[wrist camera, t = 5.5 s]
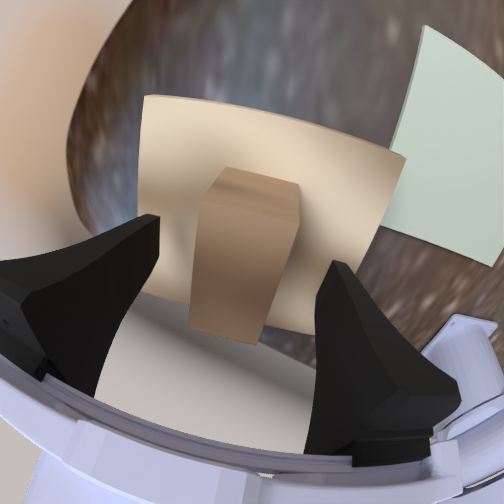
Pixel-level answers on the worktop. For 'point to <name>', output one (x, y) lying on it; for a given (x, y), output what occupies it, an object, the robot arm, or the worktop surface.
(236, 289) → the lid
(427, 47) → the mat
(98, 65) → the worktop surface
